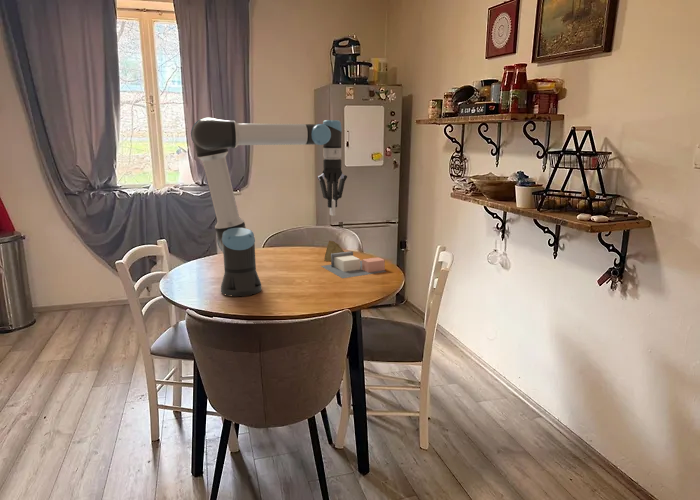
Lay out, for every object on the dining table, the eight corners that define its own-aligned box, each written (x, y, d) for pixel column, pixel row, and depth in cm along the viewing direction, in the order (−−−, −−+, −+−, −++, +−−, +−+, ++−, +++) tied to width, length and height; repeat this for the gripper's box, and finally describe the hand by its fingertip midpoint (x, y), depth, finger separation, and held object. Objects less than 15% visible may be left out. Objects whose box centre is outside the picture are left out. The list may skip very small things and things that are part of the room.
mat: (342, 280, 204) (342, 278, 203) (320, 268, 223) (320, 265, 222) (386, 273, 213) (386, 271, 213) (362, 262, 232) (362, 260, 232)
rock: (351, 254, 238) (331, 250, 240) (349, 243, 231) (329, 238, 234) (343, 272, 231) (323, 267, 234) (341, 260, 225) (321, 256, 228)
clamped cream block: (340, 271, 213) (340, 258, 212) (329, 265, 223) (328, 253, 222) (362, 268, 218) (362, 256, 216) (350, 262, 228) (350, 250, 227)
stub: (368, 272, 212) (368, 262, 210) (362, 269, 216) (362, 259, 215) (384, 270, 215) (384, 260, 214) (378, 267, 220) (378, 257, 219)
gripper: (321, 159, 201) (321, 217, 206) (350, 158, 206) (350, 215, 212) (314, 158, 207) (314, 214, 213) (342, 158, 213) (342, 213, 218)
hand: (332, 215), depth 212 cm, fingers closed
